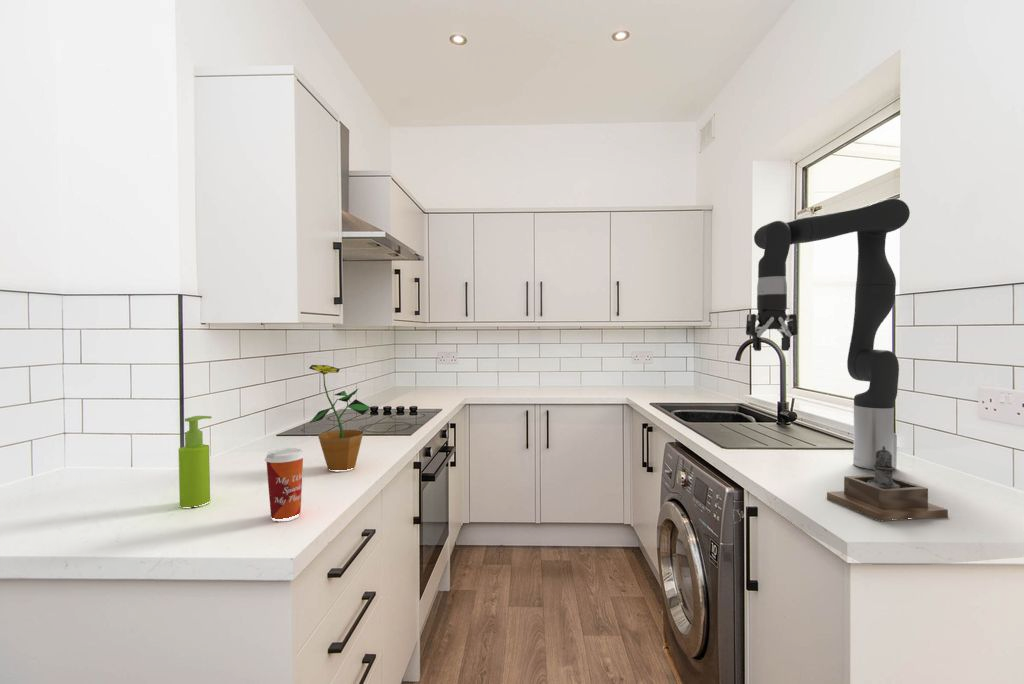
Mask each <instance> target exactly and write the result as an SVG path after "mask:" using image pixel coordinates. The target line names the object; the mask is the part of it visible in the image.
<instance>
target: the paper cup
mask: <svg viewBox="0 0 1024 684" xmlns="http://www.w3.org/2000/svg"><path fill="white" fill-rule="evenodd" d="M304 458H305V454H304V453H303V451H302V449H301V448H298V447H297V448H296V447H287V448H285V447H284V448H279V449H274V450H271V451H268V452H267V453H266V457H265V458H264V461H265V462H266V473H267V485H268V497H269V498H268V499H269V506H270V507H269V508H270V509H269V510H270V517H272V518H275V519H283V518H289V517H292V516H295V515H297V514H299V513H300V514H301V510H302V509H301V507H302V491H303V490H302V489H303V465H304V462H303V461H304Z"/></svg>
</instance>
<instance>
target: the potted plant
mask: <svg viewBox="0 0 1024 684" xmlns="http://www.w3.org/2000/svg"><path fill="white" fill-rule="evenodd" d="M308 368H309V370H312V371H316V372H319V373H321V374H322V375H323V387H324V391H325V395H326V397H327V400H328V403H329V404H330V405H331V407H329V408H326V409H323V410H320V411H318V412H317V413H316V415H314V417H313V418H312V419H311V420H310V422H309V424H312V423H315V422H319V421H322V420H323V419H324V418H325V416H326V415H327V414H328V413H329V412H330V411H331V410H332V411H333V412H334V414H335V417H336V420H337V423H338V427H339V430H338V429H337V430H330V431H324V432H322V433H319V434H318V435H317V436H318V440H319V443H320V447H321V450H322V453H323V457H324V461H325V464H326V468H327V470H328V469H330V470H347V469H351V468H354V467H355V468H356V464H357V459H358V455H359V451H360V447H361V445H362V440H363V436H364V431H361V430H357V429H343V425H342V422H341V420H340V419H341V418H342V417H343V415H344V413H345V412H346V410H347V409H348V408H349V409H351V410H353V411H355V412H356V413H359V414H360V415H364V414H365V413H366V412H368V410H369V409H371V406H369V405H367V404H365V403H363V402H362V401H360V400H358V399H354V400H353V401H352V402H351V398H352V397H353V396H354V395H355V394H356V393H357V392H358V390H359V388H357V389H355V390H354V391H352V392H351V393H349V394H347V392H346V391H345V390H343V391H341V392H338V393H335V394H334V396H339V397H340V398H336V400H335V402H334V403H333V402H332V399H331V398H330V396H329V393H328V390H327V386H326V379H325V378H326V377H325V375H326V374H329V373H332V374H333V373H337V374H338V373H339V372H340V370H341V369H340V368H338V367H334V366H330V365H329V364H328V365H327V364H326V365H325V364H324V365H323V364H322V365H321V364H311V365H310V367H308ZM341 396H342V397H341ZM338 401H340V402H344V403H345V402H346V407H345V408H344V410H343V411H342V412H341V414H339V415H338V413H337V410H336V406H335V405H336V403H337V402H338ZM349 402H350V403H349ZM355 468H354V469H355Z"/></svg>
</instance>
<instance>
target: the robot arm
mask: <svg viewBox="0 0 1024 684" xmlns="http://www.w3.org/2000/svg"><path fill="white" fill-rule="evenodd" d="M910 213H911V211H910V209H909V206H908V203H906V202H904V201H903V200H902V199H899V198H895V197H893V198H892V197H891V198H885V199H881V200H878V201H875V202H872V203H871V204H868V205H866V206H862V207H858V208H853V209H850V210H843V211H838V212H833V213H832V212H831V213H825V214H818V215H811V216H806V217H805V216H804V217H801V218H797V219H794V220H792V221H788V222H785V221H783V220H775V221H772V222H770V223H767V224H764V225H763V226H761V227H759V228H758V229H757V230H756V231H755V233H754V236H753V241H754V244H755V245H756V246H757V247H758V248H759V249H763V250H764V252H763V253H764V254H763V255H762V257H761V258H760V259H759V260H758V265H757V267H758V270H757V271H758V273H757V274H758V275H757V278H758V279H757V287H756V292H757V293H756V295H757V296H756V310H757V314H756V313H749V314H746V323H745V324H746V326H745V327H746V328H745V335H746V336H750V337H752V348H753V350H754V351H755V352H761V351H762V335H763V334H764V333H765V332H766V331H767V330H776V331H777V332H779V333H780V335H781V350H782V351H784V352H786V351H787V352H788V351H789V350H790V348H791V337H793V336H796V335H798V319H797V314H795V313H790V314H789V313H788V314H787V313H786V312H787V311H786V310H787V308H788V285H787V284H788V283H787V259H788V257H789V251H790V247H791V245H795V244H804V243H810V242H811V243H812V242H817V241H822V240H827V239H833V238H835V237H838V236H843V235H847V234H851V233H855V232H856V233H857V234H856V237H857V239H856V240H857V268H856V282H855V294H854V295H855V296H854V314H853V322H852V323H853V325H852V333H851V337H850V343H849V349H848V354H847V361H846V365H847V366H846V368H847V371H848V374H849V376H850V377H851V378H852V379H853V380H856V381H860V382H861V381H862V382H869V385H868V389H866V391H864V392H861V393H860V392H859V393H857V394H856V395H854V396H853V446H852V447H853V451H852V452H853V454H852V455H853V457H852V458H853V459H852V461H853V462H852V464H853V465H854V466H856V467H860V468H863V469H865V470H866V469H867V470H873V471H875V467H874V466H873V465H875V464H876V452H877V451H878V450H881V449H883V448H882V447H883V446H884V447H885V450H887V451H889V452H890V453H891V454H892V467H893V468H894V469H897V463H898V462H897V458H898V457H897V452H898V450H897V448H898V436H897V434H896V433H895V432H894V431H895V429H894V428H895V427H894V426H895V401H896V399H897V396H898V390H899V389H898V387H899V375H900V365H899V360H898V357H897V355H896V354H895V353H894V352H893V351H891V350H886V349H874V347H875V346H874V345H875V337H876V335H877V332H878V329H879V328H880V326H881V324H883V322H884V321H885V320H886V318H887V317H888V315H889V314H890V312H891V311H892V309H893V307H894V306H895V301H896V289H897V288H896V286H897V280H896V275H895V273H894V271H893V268H892V266H891V264H890V263H889V260H888V258H887V254H886V239H887V234H888V233H892V232H894V231H896V230H898V229H900V228H902V227H903V226H904V225H905V224H906V223H908V221H909V219H910ZM757 321H758V324H757ZM786 323H787V324H786Z"/></svg>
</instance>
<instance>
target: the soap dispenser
mask: <svg viewBox="0 0 1024 684" xmlns="http://www.w3.org/2000/svg"><path fill="white" fill-rule="evenodd" d="M212 417H213V416H211V415H193V416H191V417H190V416H189V417H186V418H184V422H186V423H188V430H187V431H186V432H184V446H181V447H180V448H178V476H179V477H178V484H179V485H178V487H179V507H180V506H181V507H194V506H199V505H202V504H205V503H207V502H209V501H210V502H211V483H210V482H211V478H210V477H211V475H210V472H211V471H210V470H211V469H210V468H211V467H210V445H209V444H204V443H203V441H204V440H203V438H204V437H203V430H200V429H199V420H204V419H205V420H206V419H212Z"/></svg>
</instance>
